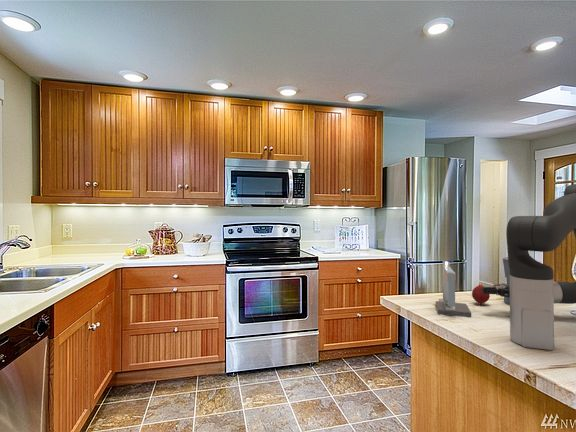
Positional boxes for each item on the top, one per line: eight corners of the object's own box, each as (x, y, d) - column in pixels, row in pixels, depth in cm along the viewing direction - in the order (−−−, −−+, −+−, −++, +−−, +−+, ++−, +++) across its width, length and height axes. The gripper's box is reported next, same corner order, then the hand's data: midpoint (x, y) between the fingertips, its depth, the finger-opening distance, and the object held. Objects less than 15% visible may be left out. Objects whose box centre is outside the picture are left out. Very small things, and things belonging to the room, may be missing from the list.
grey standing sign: (456, 306, 106) (455, 273, 106) (447, 306, 107) (447, 272, 107) (450, 295, 121) (450, 266, 121) (443, 295, 122) (442, 266, 122)
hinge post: (454, 305, 120) (454, 262, 120) (439, 304, 122) (439, 262, 122) (452, 302, 125) (452, 261, 125) (438, 301, 127) (438, 260, 127)
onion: (492, 306, 119) (492, 285, 119) (475, 306, 120) (475, 284, 120) (486, 302, 124) (486, 282, 124) (469, 302, 125) (469, 281, 126)
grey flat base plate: (471, 317, 106) (471, 310, 106) (438, 314, 110) (438, 307, 110) (465, 307, 118) (465, 301, 118) (435, 305, 121) (435, 299, 121)
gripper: (529, 276, 113) (474, 275, 116) (552, 284, 100) (490, 283, 103) (529, 298, 113) (475, 296, 116) (552, 309, 100) (490, 306, 103)
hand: (482, 290), depth 109 cm, fingers closed
